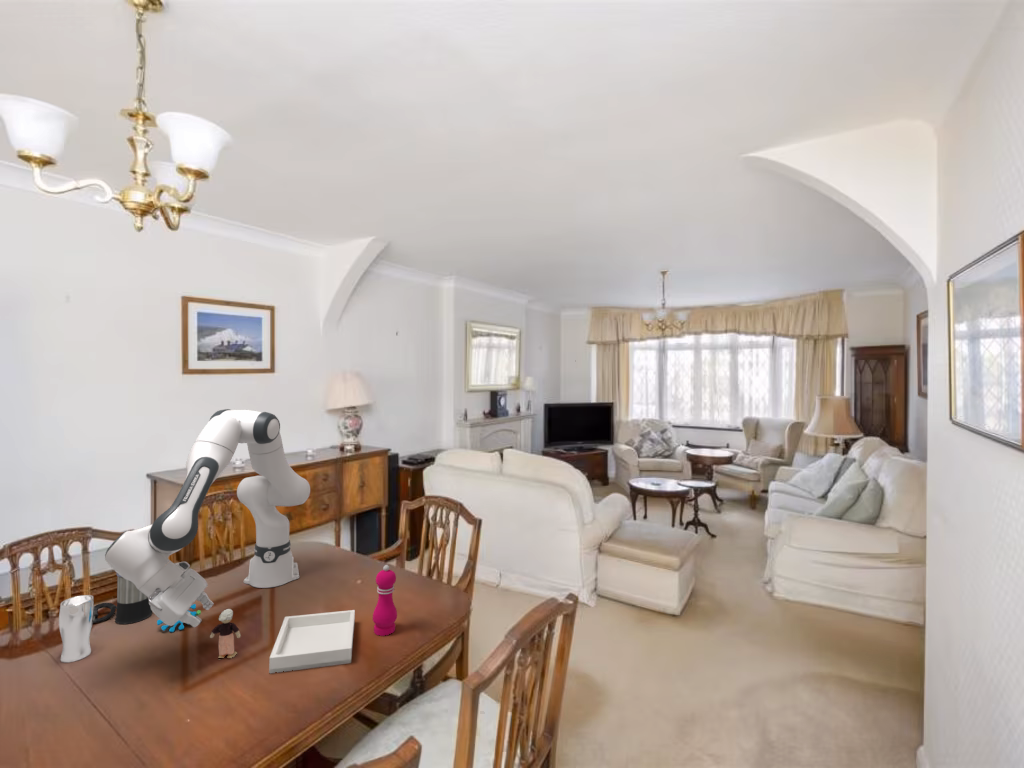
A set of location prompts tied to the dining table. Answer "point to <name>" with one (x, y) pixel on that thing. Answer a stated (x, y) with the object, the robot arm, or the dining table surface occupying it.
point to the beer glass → (76, 627)
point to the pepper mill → (385, 603)
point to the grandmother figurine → (226, 634)
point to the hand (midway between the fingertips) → (205, 615)
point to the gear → (179, 620)
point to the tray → (313, 641)
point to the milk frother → (126, 604)
